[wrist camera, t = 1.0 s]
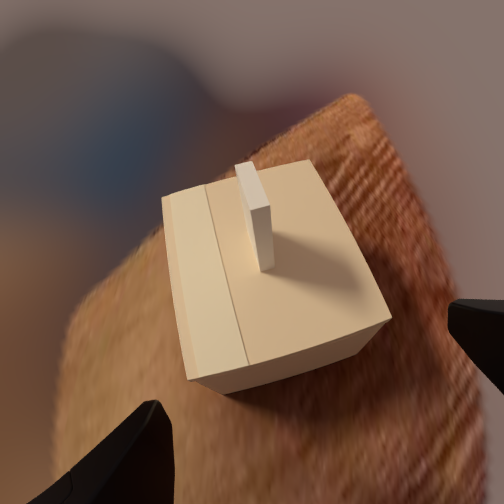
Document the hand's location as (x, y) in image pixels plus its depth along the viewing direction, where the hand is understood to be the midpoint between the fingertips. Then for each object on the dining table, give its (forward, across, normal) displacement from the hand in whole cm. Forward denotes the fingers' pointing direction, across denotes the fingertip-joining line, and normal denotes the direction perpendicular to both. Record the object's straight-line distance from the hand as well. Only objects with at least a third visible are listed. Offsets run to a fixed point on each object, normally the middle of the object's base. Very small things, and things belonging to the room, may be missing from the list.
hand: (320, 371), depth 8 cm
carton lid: (+10, 0, -1) cm, 10 cm away
